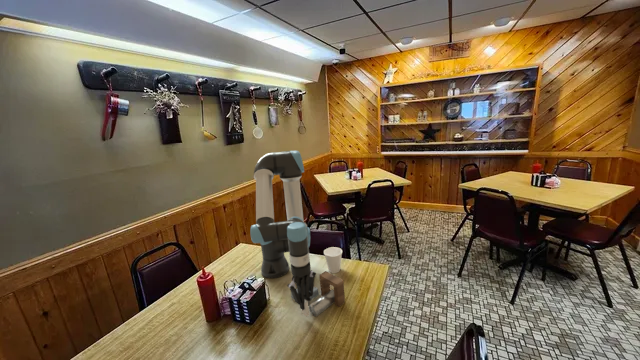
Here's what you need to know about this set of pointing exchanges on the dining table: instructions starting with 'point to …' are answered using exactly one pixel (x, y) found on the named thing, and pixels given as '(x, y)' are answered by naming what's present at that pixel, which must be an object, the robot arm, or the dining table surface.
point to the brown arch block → (336, 282)
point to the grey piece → (322, 303)
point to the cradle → (315, 293)
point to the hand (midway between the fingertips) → (305, 314)
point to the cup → (333, 258)
